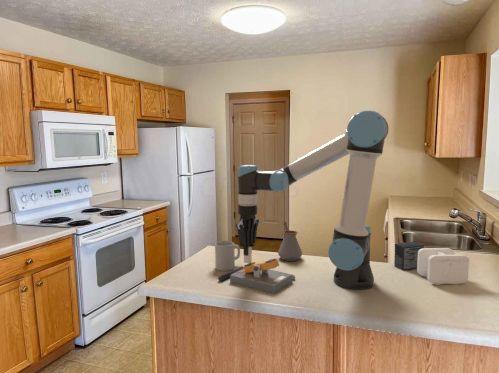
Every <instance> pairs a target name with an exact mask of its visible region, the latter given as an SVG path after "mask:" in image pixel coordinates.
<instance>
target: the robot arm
mask: <svg viewBox="0 0 499 373" xmlns="http://www.w3.org/2000/svg"><path fill="white" fill-rule="evenodd" d="M388 134H389V124H388V121H387V120H386V118H385V117H384V116H383V115H382V114H380V113H379V112H377V111H375V110H362V111H360V112H357V113H356V114H354V115H353V116H352V117H351V118H350V119H349V121H348V123H347V126H346V129H345V132H344V133H343V134H342V135H340V136H338V137H335V139H332V140H331V141H328V142H327V143H326V144H323V145H322V146H320V147H318V148H316V149H314V150H313V151H310V152H309V153H306V155H303V156H302V157H300V158H298V159H296V160H295V161H293V162H291V163H289V164H287V165H285V166H283V167H282V168H279V169H276V170H259V169H258V166H257V165H255V164H243V165H240V166H239V167H238V169H237V170H238V172H237V184H238V185H237V186H238V187H237V188H238V189H237V190H238V192H237V198H238V201H237V202H238V206H237V208H238V209H237V214H238V215H239V216H240V217H239V223H236V224H235V228H236V232H237V237H238V243H239V247H243V263H246V264H249V263H253V262H252V259H253V257H252V253H253V247H255V244H256V239H257V233H258V225H259V223H260V220H259V219H257V218H256V215H257V214H258V205H257V204H258V191H264V192H265V191H266V192H268V191H269V192H276V193H277V192H285V191H286V190H287V188H288V187H289V186H292V185H293V184H294V183H296V182H298V181H300V180H301V179H304V178H306V177H308V176H309V175H311V174H313V173H315V172H318V171H319V170H321V169H323V168H325V167H327V166H328V165H331V164H332V163H334V162H336V161H338V160H340V159H342V158H344V157H346V156H348V155H349V160H348V167H347V173H346V180H345V187H344V192H343V199H342V206H341V211H340V212H341V213H340V218H339V223H337V224H336V225H335V226H334V228H333V233H332V240H331V241H332V242H331V243H330V244H329V247H328V251H327V253H328V254H327V255H328V258H329V261H330V262H331V263H332V264H333V265H334V266H335V267H336V268H335V271H334V274H333V282H334V284H336V285H337V286H339V287H342V288H345V289H351V290H366V289H371V288H372V287H374V285H375V277H374V274H373V271H372V267H371V262H370V260H371V258H370V257H371V236H372V232H371V227H370V226H369V225H367V224H366V223H367V216H368V211H369V205H370V200H371V199H370V198H371V194H372V188H373V181H374V175H375V169H376V163H377V159H379V157H381V156H382V155H383V151H384V144H385V140H386V139H387V137H388Z"/></svg>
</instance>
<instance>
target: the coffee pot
mask: <svg viewBox="0 0 499 373" xmlns="http://www.w3.org/2000/svg"><path fill="white" fill-rule="evenodd" d="M287 223H288V222H287V221H285V220H284V221H283V225H284V228H285V230H284V231H283V234H284V238H283V240H282V241H281V243H280V246H279V250H278V251H277V254H278V256H279V257H280V258H281V259H282V260H283V261H285V262H295V261H298V260H299V259H300V258H301V257H302V255H303V251H302V249H301V248H302V247H300V246H301V245H300V244H299V240H298V239H297V235H298V231H295V230H289V228H288V225H287Z"/></svg>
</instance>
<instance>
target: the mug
mask: <svg viewBox="0 0 499 373" xmlns="http://www.w3.org/2000/svg"><path fill="white" fill-rule="evenodd" d="M240 247H241V246H240V245H239V244H235V242H234V241H230V240H222V241H221V240H219V241H217V242H215V244H214V250H215V252H214V253H215V254H214V255H215V258H214V260H215V263H214V264H215V269H216V270H217V271H221V272H222V271H223V272H226V271H227V272H230V271H232V270H234V269H236V266H235V265H236V263H235V261H236V260H238V259H239V258H240V256H241V248H240ZM235 249H236V251H237V253H236V255H235Z"/></svg>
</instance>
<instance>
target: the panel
mask: <svg viewBox="0 0 499 373" xmlns="http://www.w3.org/2000/svg"><path fill="white" fill-rule="evenodd" d="M264 261H265V260H262V261H261V262H264ZM292 275H293V274H292V273H288V272H282V271H279V270H274V269H267V270H261V271H260V266H259V265H254V272H248V273H245V270H244V269H242V270H240V271H238V272H235V273H233V274H231V275H230V277H229V280H230V281H229V282H230V283H231V284H236V285H239V286H242V287H245V288H246V287H247V288H249V289H254V290H258V291H261V292H265V293H268V294H272V295H274V294H276V293H277V292H279V291H280V290H282V289H284V288H285V287H288V285H290V284H292V283H293V279H292Z"/></svg>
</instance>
